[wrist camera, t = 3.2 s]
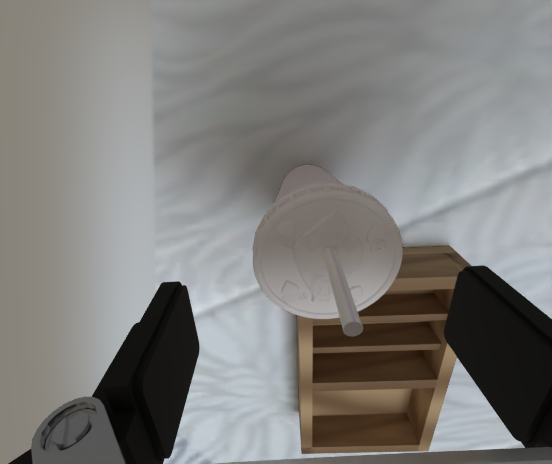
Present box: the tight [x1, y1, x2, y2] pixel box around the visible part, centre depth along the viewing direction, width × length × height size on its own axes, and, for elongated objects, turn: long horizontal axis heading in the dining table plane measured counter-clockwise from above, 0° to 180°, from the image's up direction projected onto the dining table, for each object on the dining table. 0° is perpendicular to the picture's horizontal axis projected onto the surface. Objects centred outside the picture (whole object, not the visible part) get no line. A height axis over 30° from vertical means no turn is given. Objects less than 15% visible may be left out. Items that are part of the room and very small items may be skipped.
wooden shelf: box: [296, 246, 471, 454], centre depth 26 cm, size 20×12×4 cm, turn 3°
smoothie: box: [253, 165, 403, 336], centre depth 15 cm, size 6×6×14 cm
